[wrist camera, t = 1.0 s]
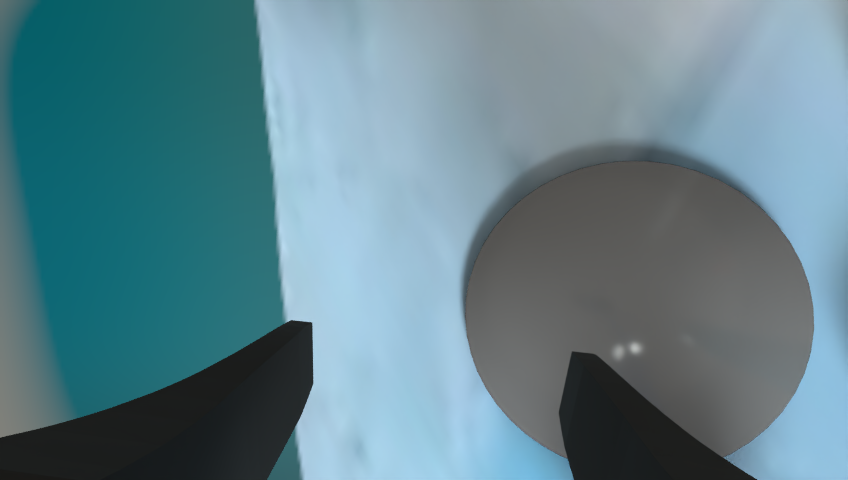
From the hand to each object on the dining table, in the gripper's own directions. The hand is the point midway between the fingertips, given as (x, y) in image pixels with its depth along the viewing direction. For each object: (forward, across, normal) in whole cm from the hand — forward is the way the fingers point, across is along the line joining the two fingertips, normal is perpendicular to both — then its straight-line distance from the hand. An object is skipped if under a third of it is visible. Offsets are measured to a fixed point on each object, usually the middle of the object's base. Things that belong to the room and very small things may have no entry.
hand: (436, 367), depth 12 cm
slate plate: (+13, -10, +5) cm, 17 cm away
